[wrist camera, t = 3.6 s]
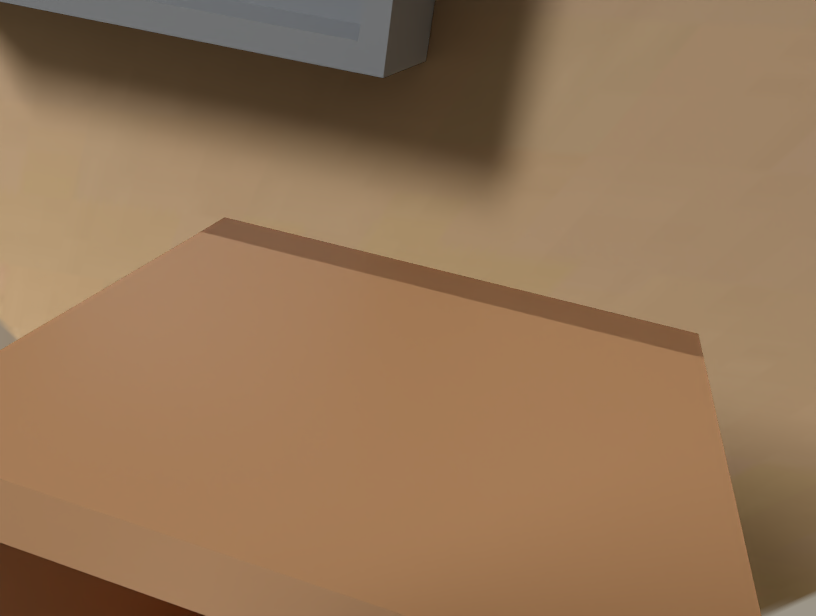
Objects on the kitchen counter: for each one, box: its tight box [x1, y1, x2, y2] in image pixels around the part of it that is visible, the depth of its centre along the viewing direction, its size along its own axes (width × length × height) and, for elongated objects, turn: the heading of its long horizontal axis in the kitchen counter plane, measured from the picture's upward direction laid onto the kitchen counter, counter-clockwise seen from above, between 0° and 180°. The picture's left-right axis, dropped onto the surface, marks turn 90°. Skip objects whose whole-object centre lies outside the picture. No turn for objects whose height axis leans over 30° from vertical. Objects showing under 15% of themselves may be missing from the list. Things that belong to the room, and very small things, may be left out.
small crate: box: [0, 218, 761, 616], centre depth 8 cm, size 6×6×5 cm
